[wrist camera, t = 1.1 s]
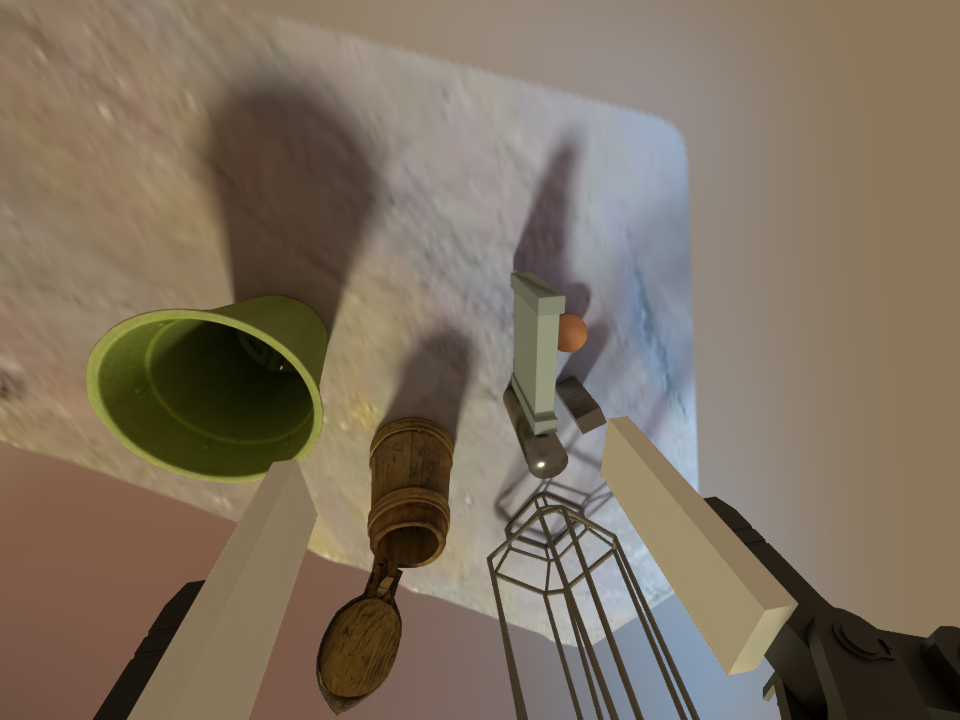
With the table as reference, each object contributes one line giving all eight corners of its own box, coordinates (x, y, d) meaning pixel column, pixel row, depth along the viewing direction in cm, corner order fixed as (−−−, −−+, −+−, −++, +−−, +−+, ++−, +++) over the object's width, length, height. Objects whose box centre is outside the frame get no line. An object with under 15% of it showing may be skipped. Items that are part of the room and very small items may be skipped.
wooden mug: (335, 492, 38) (268, 710, 22) (397, 404, 34) (372, 589, 18) (405, 517, 41) (391, 723, 25) (469, 438, 37) (502, 622, 21)
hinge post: (498, 392, 35) (522, 459, 26) (525, 378, 35) (559, 440, 26) (511, 414, 37) (538, 484, 28) (537, 400, 36) (573, 467, 27)
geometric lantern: (546, 570, 50) (730, 1199, 19) (459, 535, 45) (514, 1339, 13) (623, 504, 46) (1034, 1181, 14) (538, 456, 40) (899, 1383, 9)
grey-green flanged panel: (529, 382, 34) (556, 431, 27) (511, 384, 34) (534, 434, 27) (531, 271, 29) (565, 295, 22) (510, 272, 29) (538, 298, 22)
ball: (538, 320, 32) (550, 334, 29) (571, 302, 32) (586, 314, 29) (551, 349, 34) (564, 365, 31) (583, 332, 34) (599, 346, 30)
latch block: (553, 385, 36) (575, 419, 30) (573, 375, 36) (600, 407, 30) (560, 399, 37) (583, 434, 31) (580, 389, 36) (606, 422, 31)
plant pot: (179, 342, 28) (45, 423, 18) (256, 233, 26) (147, 258, 16) (307, 415, 33) (256, 511, 23) (383, 329, 31) (362, 395, 20)
